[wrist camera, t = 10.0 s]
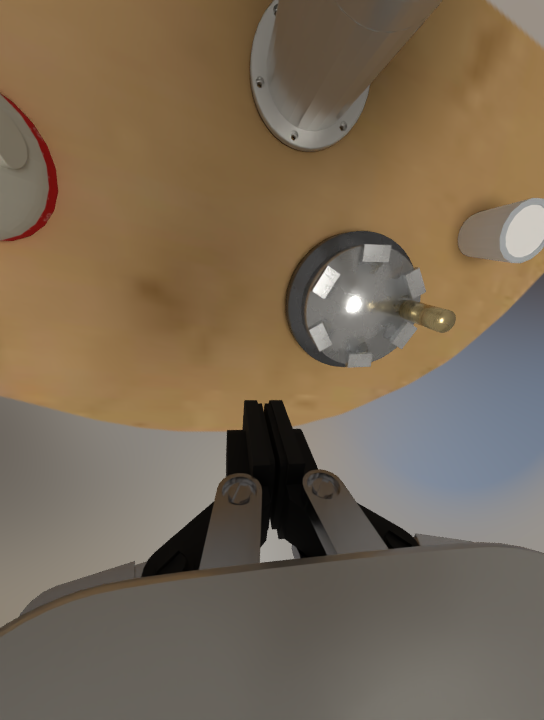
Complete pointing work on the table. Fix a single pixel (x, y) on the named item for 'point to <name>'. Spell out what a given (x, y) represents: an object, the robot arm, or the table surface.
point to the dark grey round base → (307, 269)
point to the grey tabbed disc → (367, 304)
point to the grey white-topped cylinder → (505, 232)
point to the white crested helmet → (23, 175)
